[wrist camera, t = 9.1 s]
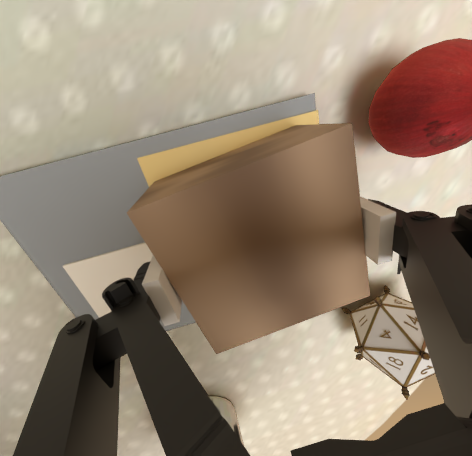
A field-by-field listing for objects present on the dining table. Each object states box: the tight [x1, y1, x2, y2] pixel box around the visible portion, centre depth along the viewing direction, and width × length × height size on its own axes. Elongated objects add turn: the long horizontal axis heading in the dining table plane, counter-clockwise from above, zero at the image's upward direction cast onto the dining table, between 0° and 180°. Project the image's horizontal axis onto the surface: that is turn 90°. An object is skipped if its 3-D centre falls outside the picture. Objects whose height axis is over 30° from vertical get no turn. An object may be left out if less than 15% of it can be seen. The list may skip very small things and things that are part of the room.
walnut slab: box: [127, 123, 370, 354], centre depth 14 cm, size 10×10×6 cm
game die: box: [342, 286, 435, 400], centre depth 21 cm, size 9×8×10 cm
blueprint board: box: [0, 93, 319, 331], centre depth 18 cm, size 22×16×2 cm
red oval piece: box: [369, 38, 472, 158], centre depth 13 cm, size 6×6×8 cm
